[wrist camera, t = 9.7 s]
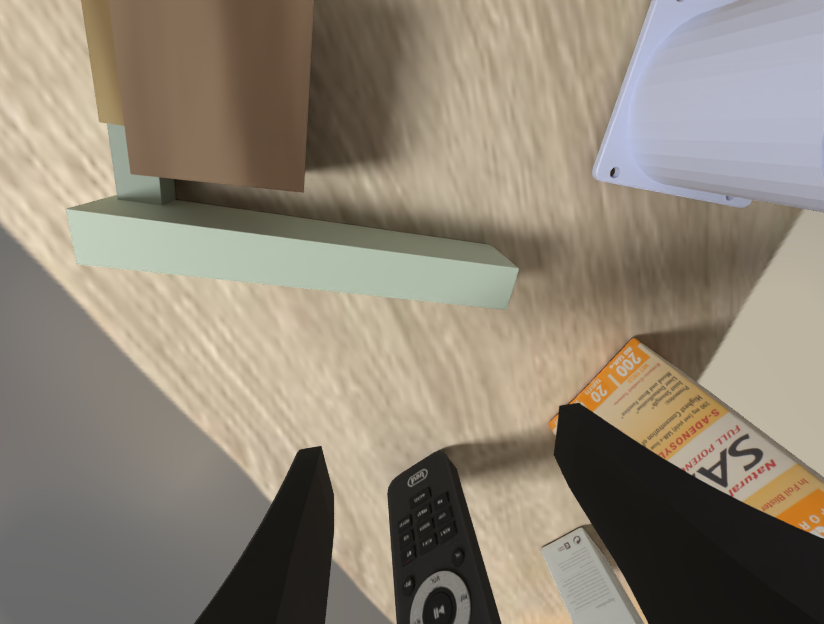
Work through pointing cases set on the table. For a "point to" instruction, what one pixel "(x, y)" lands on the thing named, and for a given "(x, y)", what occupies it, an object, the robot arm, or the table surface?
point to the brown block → (206, 86)
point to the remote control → (436, 549)
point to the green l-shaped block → (277, 246)
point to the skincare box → (588, 582)
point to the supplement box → (703, 436)
